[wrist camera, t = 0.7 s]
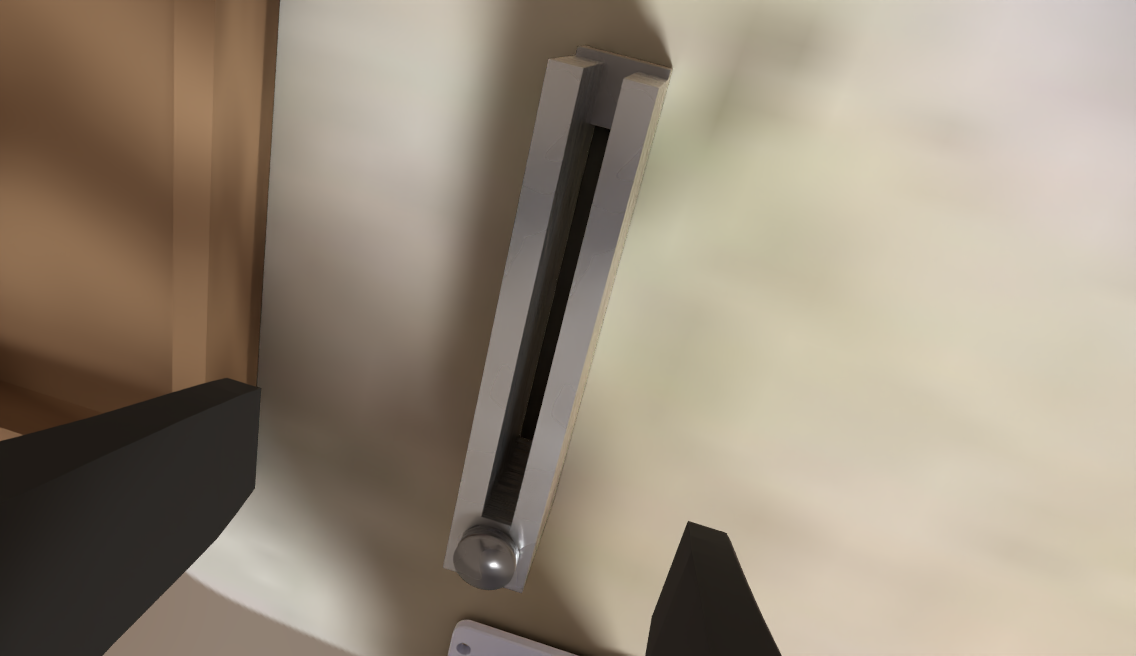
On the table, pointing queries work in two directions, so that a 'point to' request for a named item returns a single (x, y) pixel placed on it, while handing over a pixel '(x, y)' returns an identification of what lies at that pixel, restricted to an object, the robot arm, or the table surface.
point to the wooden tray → (130, 200)
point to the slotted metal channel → (544, 215)
